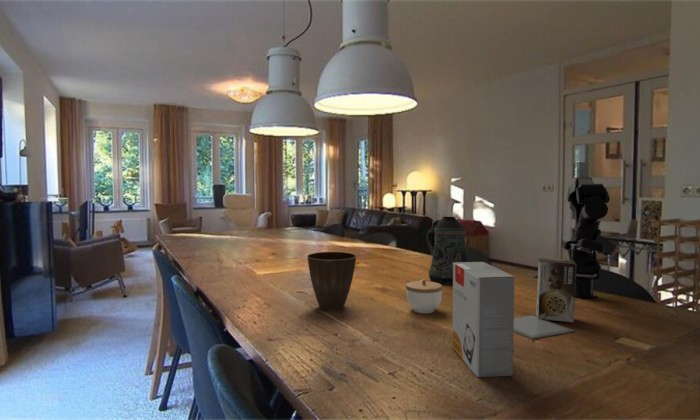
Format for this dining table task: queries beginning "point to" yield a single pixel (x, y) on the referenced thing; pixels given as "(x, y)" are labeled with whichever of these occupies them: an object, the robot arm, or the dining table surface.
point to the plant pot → (331, 277)
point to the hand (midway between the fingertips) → (574, 274)
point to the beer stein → (446, 249)
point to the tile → (537, 327)
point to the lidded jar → (423, 295)
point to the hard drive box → (483, 318)
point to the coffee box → (556, 290)
